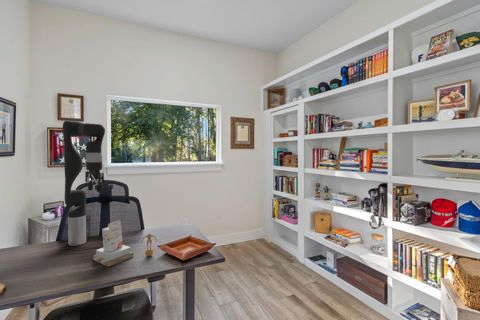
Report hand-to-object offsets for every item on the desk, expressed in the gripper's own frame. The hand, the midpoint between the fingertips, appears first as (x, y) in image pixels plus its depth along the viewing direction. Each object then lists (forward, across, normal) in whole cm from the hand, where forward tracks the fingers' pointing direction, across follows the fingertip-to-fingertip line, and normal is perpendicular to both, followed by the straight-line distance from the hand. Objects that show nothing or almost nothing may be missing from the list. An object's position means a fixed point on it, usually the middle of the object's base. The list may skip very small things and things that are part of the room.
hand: (94, 191), depth 134 cm
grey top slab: (+34, +10, +4) cm, 36 cm away
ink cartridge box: (+31, +10, +4) cm, 33 cm away
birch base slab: (+37, +10, +4) cm, 38 cm away
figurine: (+36, +23, +17) cm, 46 cm away
